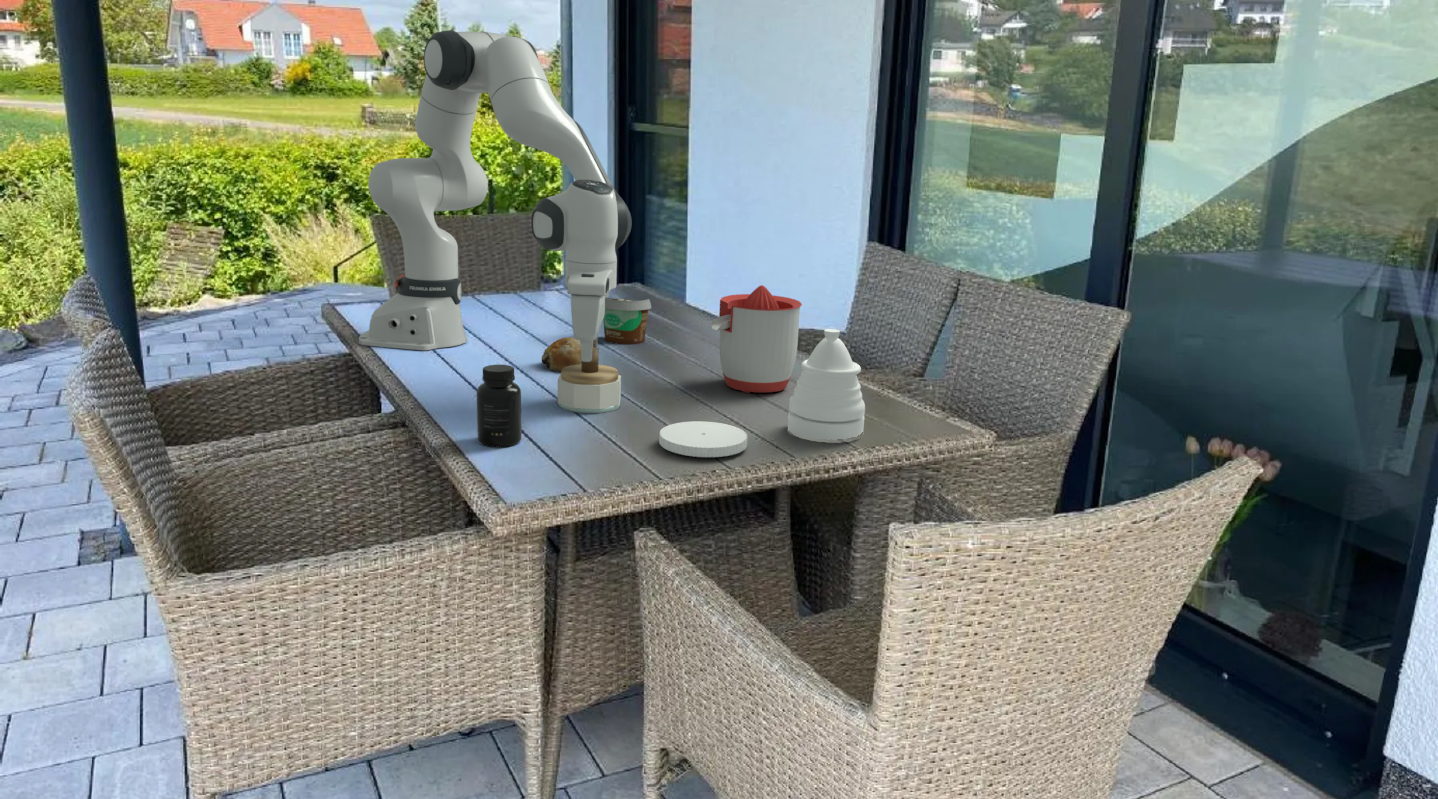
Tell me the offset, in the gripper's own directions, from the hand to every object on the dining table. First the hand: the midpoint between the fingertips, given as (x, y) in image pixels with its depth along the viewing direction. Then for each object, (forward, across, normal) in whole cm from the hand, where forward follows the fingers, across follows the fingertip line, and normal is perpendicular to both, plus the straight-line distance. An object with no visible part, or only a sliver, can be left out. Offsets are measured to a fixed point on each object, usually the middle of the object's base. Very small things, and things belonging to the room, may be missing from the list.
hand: (589, 354), depth 190 cm
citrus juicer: (+9, -17, +30) cm, 36 cm away
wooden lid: (+4, 0, 0) cm, 4 cm away
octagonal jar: (+9, 0, 0) cm, 9 cm away
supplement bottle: (+9, +23, -12) cm, 28 cm away
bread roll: (+10, -27, -7) cm, 29 cm away
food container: (+10, -52, +2) cm, 53 cm away
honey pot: (+9, +11, +41) cm, 44 cm away
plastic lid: (+10, +22, +20) cm, 32 cm away
